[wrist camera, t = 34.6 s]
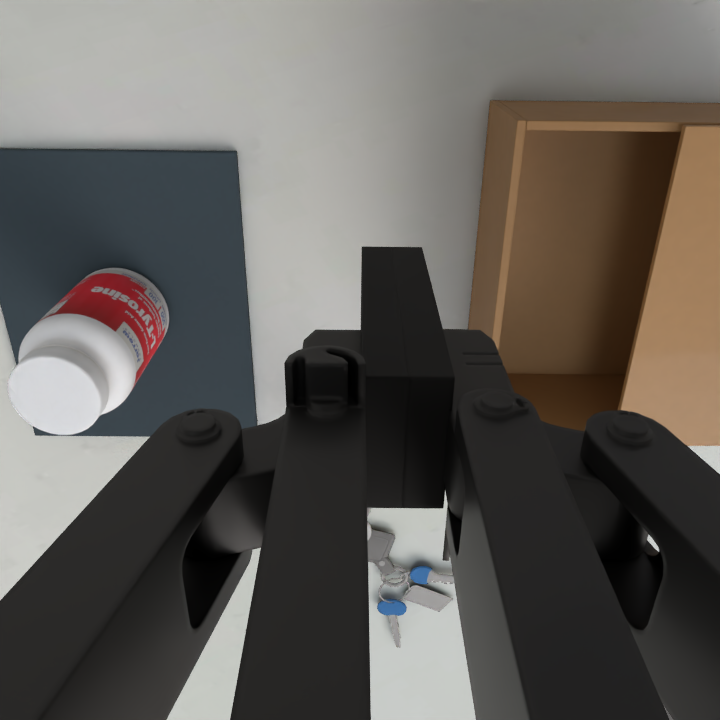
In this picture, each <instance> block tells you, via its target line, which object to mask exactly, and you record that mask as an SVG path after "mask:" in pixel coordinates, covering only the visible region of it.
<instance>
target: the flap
mask: <svg viewBox="0 0 720 720" xmlns="http://www.w3.org/2000/svg"><path fill="white" fill-rule="evenodd" d="M618 410H625V411H628V412H630V411H632V412H636V413H639V414H641V415H643V416H646V417H648V418H651V419H653V420H655V421H657V422H658V423H660V424H661V425H663V426H664V427H666V428H667V429H668V430H669V431H670V432H671V433H673V434H674V435H675V436H676V437H677V438H678V439H679V440H681V441H682V442H683V443H684V444H685V445H686V446H720V125H683V126H682V131H681V135H680V139H679V144H678V148H677V152H676V157H675V161H674V166H673V170H672V174H671V179H670V183H669V188H668V192H667V196H666V201H665V205H664V209H663V214H662V218H661V223H660V227H659V231H658V236H657V240H656V244H655V249H654V253H653V258H652V262H651V266H650V271H649V275H648V280H647V284H646V288H645V293H644V297H643V301H642V306H641V310H640V315H639V319H638V323H637V328H636V332H635V336H634V341H633V345H632V350H631V354H630V358H629V363H628V367H627V372H626V376H625V380H624V385H623V389H622V393H621V398H620V402H619V407H618Z"/></svg>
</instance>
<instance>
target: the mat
mask: <svg viewBox="0 0 720 720" xmlns="http://www.w3.org/2000/svg"><path fill="white" fill-rule="evenodd" d="M105 268H123V269H127V270H131V271H133V272H136V273H138V274H140V275H142V276H143V277H145V278H146V279H148V280H149V281H150V282H151V283H153V284H154V285H155V286H156V288H157V289H158V290H159V291H160V293H161V294H162V296H163V297H164V299H165V302H166V304H167V307H168V312H169V325H168V329H167V332H166V334H165V336H164V338H163V340H162V342H161V344H160V345H159V347H158V348H157V350H156V352H155V353H154V355H153V357H152V358H151V360H150V361H149V363H148V365H147V366H146V368H145V370H144V371H143V373H142V375H141V376H140V378H139V379H138V381H137V383H136V384H135V386H134V388H133V389H132V391H131V392H130V394H129V395H128V397H127V398H126V399H125V400H124V401H123V402H122V403H121V404H120V405H119V406H118V407H117V408H115V409H113V410H112V411H110V412H108V413H105V414H102V415H100V416H99V417H98V419H97V420H96V421H95V423H94V424H93V425H92V426H90V427H89V428H88V429H86V430H84V431H82V432H80V433H77V434H71V435H57V434H51V433H48V432H45V431H42V430H39V429H37V428H35V427H34V426H33V429H34V433H35V435H47V436H151V435H152V434H153V433H154V432H155V431H156V430H157V429H158V428H159V427H160V426H161V425H162V424H163V423H164V422H166V421H167V420H168V419H170V418H171V417H173V416H175V415H178V414H180V413H183V412H185V411H189V410H193V409H194V410H196V409H201V408H205V409H219V410H222V411H226V412H229V413H231V414H232V415H234V416H235V417H236V418H238V419H239V422H240V425H241V427H242V429H243V428H248V427H253V426H257V416H256V403H255V389H254V376H253V362H252V349H251V335H250V322H249V308H248V295H247V281H246V268H245V254H244V241H243V227H242V214H241V200H240V187H239V173H238V160H237V151H176V150H88V149H0V304H1V308H2V312H3V315H4V319H5V323H6V327H7V331H8V334H9V338H10V342H11V346H12V350H13V353H14V357H15V361H16V365H17V364H18V363H19V361H18V356H19V350H20V346H21V343H22V341H23V339H24V337H25V336H26V334H27V333H28V332H29V331H30V329H31V328H32V327H33V326H34V325H35V324H36V323H37V322H38V321H39V320H40V319H41V318H42V317H44V316H45V315H46V314H47V313H48V312H49V311H50V310H51V308H53V307H54V306H55V305H56V304H57V303H58V302H59V301H60V300H61V299H62V298H63V297H64V296H66V295H67V294H68V293H69V292H70V291H71V290H72V289H73V288H74V287H75V286H76V285H77V284H78V283H79V282H81V281H82V280H83V279H84V278H85V277H86V276H88V275H89V274H91V273H93V272H95V271H98V270H101V269H105Z"/></svg>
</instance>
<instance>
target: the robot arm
mask: <svg viewBox="0 0 720 720" xmlns="http://www.w3.org/2000/svg"><path fill="white" fill-rule="evenodd" d="M284 364H285V385H286V406H287V407H286V412H285V414H284V415H283V416H281V417H280V418H278V419H276V420H274V421H271V422H269V423H266V424H262V425H258V426H253V427H248V428H243V429H242V427H241V425H240V422H239V419H238V418H236V417H235V416H234V415H232V414H231V413H229V412H226V411H222V410H219V409H205V408H201V409H196V410H194V409H193V410H189V411H185V412H183V413H180V414H178V415H175V416H173V417H171V418H170V419H168V420H167V421H166V422H164V423H163V424H162V425H161V426H160V427H159V428H158V429H157V430H156V431H155V432H154V433H153V434H152V435H151V437H150V438H149V439H148V440H147V441H146V442H145V443H144V444H143V445H142V446H141V447H140V449H139V450H138V451H137V452H136V453H135V454H134V455H133V456H132V457H131V458H130V460H129V461H128V462H127V463H126V464H125V465H124V466H123V467H122V468H121V469H120V470H119V472H118V473H117V474H116V475H115V476H114V477H113V478H112V479H111V480H110V481H109V482H108V484H107V485H106V486H105V487H104V488H103V489H102V490H101V491H100V492H99V493H98V494H97V496H96V497H95V498H94V499H93V500H92V501H91V502H90V503H89V504H88V505H87V507H86V508H85V509H84V510H83V511H82V512H81V513H80V514H79V515H78V516H77V517H76V519H75V520H74V521H73V522H72V523H71V524H70V525H69V526H68V527H67V528H66V529H65V531H64V532H63V533H62V534H61V535H60V536H59V537H58V538H57V539H56V540H55V542H54V543H53V544H52V545H51V546H50V547H49V548H48V549H47V550H46V551H45V552H44V554H43V555H42V556H41V557H40V558H39V559H38V560H37V561H36V562H35V563H34V564H33V566H32V567H31V568H30V569H29V570H28V571H27V572H26V573H25V574H24V575H23V576H22V578H21V579H20V580H19V581H18V582H17V583H16V584H15V585H14V586H13V587H12V589H11V590H10V591H9V592H8V593H7V594H6V595H5V596H4V597H3V598H2V599H1V601H0V720H166V719H167V717H168V715H169V713H170V712H171V710H172V708H173V706H174V704H175V702H176V700H177V698H178V696H179V695H180V693H181V691H182V689H183V687H184V685H185V683H186V681H187V679H188V678H189V676H190V674H191V672H192V670H193V668H194V666H195V664H196V662H197V661H198V659H199V657H200V655H201V653H202V651H203V649H204V647H205V645H206V643H207V642H208V640H209V638H210V636H211V634H212V632H213V630H214V628H215V626H216V625H217V623H218V621H219V619H220V617H221V615H222V613H223V611H224V609H225V608H226V606H227V604H228V602H229V600H230V598H231V596H232V594H233V592H234V591H235V589H236V587H237V585H238V583H239V581H240V579H241V577H242V575H243V573H244V572H245V570H246V568H247V566H248V564H249V562H250V559H251V555H252V549H256V548H260V547H261V551H260V557H259V563H258V568H257V574H256V579H255V585H254V590H253V596H252V601H251V607H250V613H249V618H248V624H247V629H246V635H245V640H244V646H243V652H242V657H241V663H240V668H239V674H238V679H237V685H236V691H235V696H234V702H233V707H232V713H231V718H230V720H371V712H370V653H369V594H368V535H367V508H443V505H444V494H445V490H446V496H447V502H448V508H447V519H446V530H445V540H444V551H443V560H446V561H449V557H450V558H451V564H452V571H453V577H454V583H455V589H456V596H457V602H458V608H459V615H460V621H461V627H462V633H463V640H464V646H465V652H466V659H467V665H468V671H469V678H470V684H471V690H472V696H473V703H474V709H475V715H476V720H669V718H668V715H667V713H666V711H665V708H666V709H667V711H668V712H669V714H670V715H671V717H672V718H673V719H674V720H720V474H719V473H717V472H716V471H715V470H714V469H713V468H712V467H710V466H709V465H708V464H707V463H706V462H705V461H704V460H702V459H701V458H700V457H699V456H698V455H697V454H696V453H694V452H693V451H692V450H691V449H690V448H689V447H688V446H686V445H685V444H684V443H683V442H682V441H681V440H679V439H678V438H677V437H676V436H675V435H674V434H673V433H671V432H670V431H669V430H668V429H667V428H666V427H664V426H663V425H661V424H660V423H658V422H657V421H655V420H653V419H651V418H648V417H646V416H643V415H641V414H639V413H636V412H632V411H630V412H628V411H625V410H607V411H602V412H599V413H595V414H593V415H592V416H591V417H590V418H589V419H588V420H587V422H586V427H585V431H580V430H575V429H570V428H565V427H560V426H556V425H552V424H549V423H546V422H544V421H541V420H540V417H539V415H538V413H537V410H536V408H535V407H534V406H533V404H532V403H531V402H530V401H529V400H528V399H526V398H524V397H523V396H521V395H519V394H517V393H515V392H514V390H513V387H512V385H511V382H510V380H509V377H508V375H507V372H506V370H505V367H504V365H503V362H502V360H501V357H500V355H499V352H498V350H497V347H496V345H495V342H494V340H493V339H491V338H490V337H489V336H487V335H486V334H485V333H484V332H482V331H481V330H462V329H443V328H442V324H441V320H440V316H439V312H438V309H437V305H436V301H435V297H434V293H433V289H432V285H431V281H430V277H429V273H428V269H427V265H426V261H425V257H424V253H423V249H422V247H362V277H361V330H315V331H314V332H312V333H311V334H310V335H309V336H308V337H307V338H306V339H305V340H304V343H303V349H301V350H298V351H296V352H295V353H293V354H291V355H290V356H289V357H288V358H287V360H286V361H285V363H284ZM648 534H649V535H650V536H651V537H652V538H653V540H654V541H655V543H656V544H657V546H658V547H659V550H660V551H659V552H658V551H657V550H656V549H654V547H653V546H652V545H651V544H650V543H649V542H648V541H647V537H648ZM663 705H664V706H665V708H664V706H663Z"/></svg>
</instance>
